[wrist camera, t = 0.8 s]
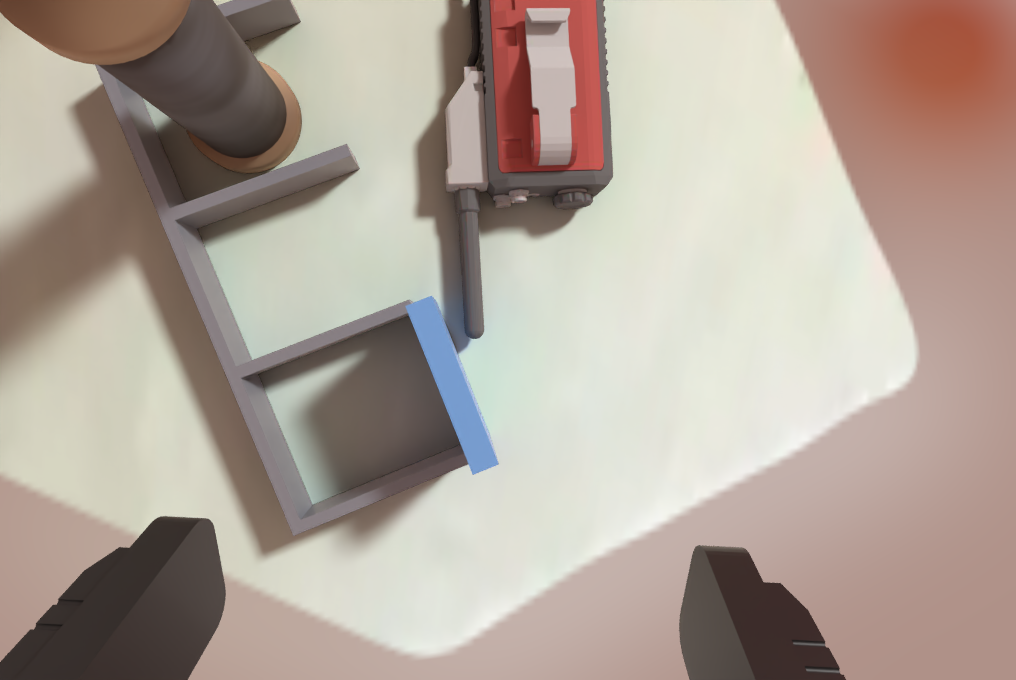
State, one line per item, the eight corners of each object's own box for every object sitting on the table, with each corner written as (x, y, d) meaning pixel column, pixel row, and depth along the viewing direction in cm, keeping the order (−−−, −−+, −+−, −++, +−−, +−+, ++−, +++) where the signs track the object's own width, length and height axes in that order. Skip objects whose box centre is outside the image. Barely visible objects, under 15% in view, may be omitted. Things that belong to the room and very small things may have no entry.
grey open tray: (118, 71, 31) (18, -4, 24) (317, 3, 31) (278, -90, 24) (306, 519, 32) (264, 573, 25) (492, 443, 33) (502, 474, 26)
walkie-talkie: (434, -30, 32) (454, 339, 33) (431, -86, 28) (454, 341, 28) (593, -30, 33) (610, 330, 34) (614, -84, 29) (633, 331, 29)
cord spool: (174, 86, 31) (-59, -112, 17) (277, 50, 31) (133, -172, 17) (216, 188, 31) (22, 76, 17) (318, 151, 32) (208, 13, 18)
